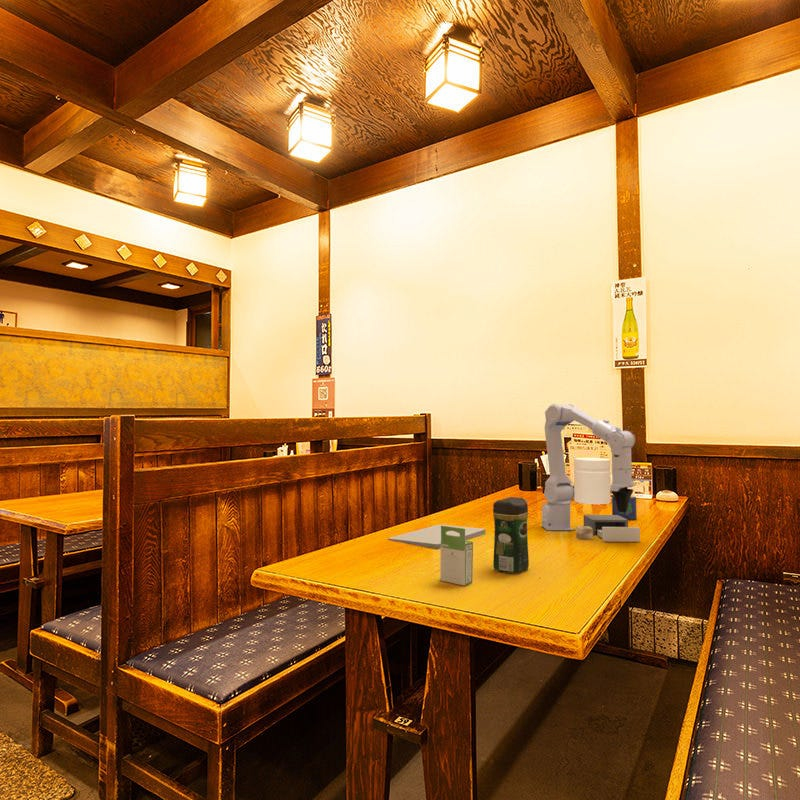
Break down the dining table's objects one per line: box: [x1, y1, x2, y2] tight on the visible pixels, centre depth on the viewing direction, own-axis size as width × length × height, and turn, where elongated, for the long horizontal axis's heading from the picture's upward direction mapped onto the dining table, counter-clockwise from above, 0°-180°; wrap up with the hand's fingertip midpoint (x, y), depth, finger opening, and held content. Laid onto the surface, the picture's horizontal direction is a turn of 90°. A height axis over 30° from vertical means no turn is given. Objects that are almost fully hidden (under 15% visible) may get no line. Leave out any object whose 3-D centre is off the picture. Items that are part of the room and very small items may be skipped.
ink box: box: [439, 525, 474, 587], centre depth 130 cm, size 7×4×13 cm, turn 52°
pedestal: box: [576, 525, 594, 541], centre depth 177 cm, size 4×4×4 cm
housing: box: [583, 514, 629, 536], centre depth 186 cm, size 12×9×5 cm
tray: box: [596, 526, 641, 543], centre depth 176 cm, size 12×9×4 cm
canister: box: [573, 457, 612, 506], centre depth 253 cm, size 16×16×20 cm
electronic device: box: [387, 524, 486, 550], centre depth 179 cm, size 29×20×2 cm
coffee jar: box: [492, 496, 530, 574], centre depth 141 cm, size 10×8×19 cm
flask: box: [611, 495, 638, 521], centre depth 210 cm, size 9×3×11 cm, turn 88°
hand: (622, 512), depth 171 cm, fingers closed
